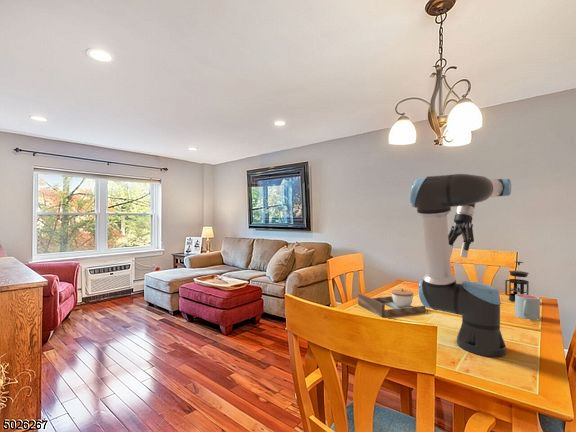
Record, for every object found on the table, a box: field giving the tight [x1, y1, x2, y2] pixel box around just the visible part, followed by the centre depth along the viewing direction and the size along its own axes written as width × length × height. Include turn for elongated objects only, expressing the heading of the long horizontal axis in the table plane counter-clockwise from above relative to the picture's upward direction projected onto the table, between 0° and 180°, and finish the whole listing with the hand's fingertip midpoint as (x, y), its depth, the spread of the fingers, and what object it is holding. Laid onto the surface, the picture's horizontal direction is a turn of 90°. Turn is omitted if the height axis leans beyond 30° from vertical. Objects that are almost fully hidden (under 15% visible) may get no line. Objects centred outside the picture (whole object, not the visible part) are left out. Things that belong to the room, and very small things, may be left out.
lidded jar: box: [391, 288, 414, 308], centre depth 156 cm, size 11×11×9 cm
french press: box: [504, 260, 530, 303], centre depth 170 cm, size 12×9×23 cm
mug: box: [514, 293, 541, 321], centre depth 140 cm, size 14×9×10 cm
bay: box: [357, 293, 426, 318], centre depth 154 cm, size 26×21×6 cm
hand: (455, 257), depth 140 cm, fingers open, 13 cm apart
